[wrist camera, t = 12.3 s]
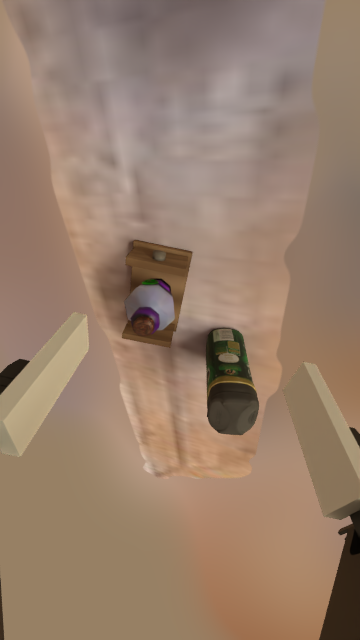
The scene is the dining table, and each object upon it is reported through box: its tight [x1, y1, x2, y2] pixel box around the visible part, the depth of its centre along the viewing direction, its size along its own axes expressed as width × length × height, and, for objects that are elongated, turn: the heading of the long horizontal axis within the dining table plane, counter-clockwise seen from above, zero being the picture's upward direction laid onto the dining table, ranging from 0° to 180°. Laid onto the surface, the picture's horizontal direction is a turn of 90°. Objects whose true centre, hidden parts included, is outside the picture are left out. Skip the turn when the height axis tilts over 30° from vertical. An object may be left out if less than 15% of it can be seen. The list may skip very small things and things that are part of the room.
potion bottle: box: [124, 278, 175, 336], centre depth 37 cm, size 9×9×12 cm
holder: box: [122, 240, 192, 348], centre depth 40 cm, size 17×10×7 cm, turn 170°
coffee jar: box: [206, 328, 259, 435], centre depth 42 cm, size 10×8×19 cm
